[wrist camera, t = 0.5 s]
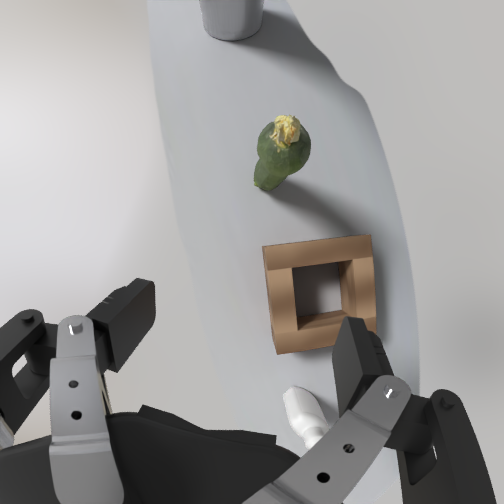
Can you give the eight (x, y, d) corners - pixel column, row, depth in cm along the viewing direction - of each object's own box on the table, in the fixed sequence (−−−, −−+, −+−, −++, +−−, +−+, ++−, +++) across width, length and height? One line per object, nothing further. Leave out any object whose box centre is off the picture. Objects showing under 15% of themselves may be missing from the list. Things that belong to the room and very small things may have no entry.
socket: (262, 246, 36) (265, 246, 30) (353, 235, 36) (370, 234, 30) (272, 339, 36) (277, 354, 31) (359, 324, 36) (376, 336, 31)
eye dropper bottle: (309, 378, 36) (333, 426, 24) (319, 408, 37) (342, 458, 25) (279, 389, 36) (292, 441, 24) (291, 418, 37) (305, 471, 25)
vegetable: (265, 158, 35) (286, 71, 15) (293, 176, 36) (345, 107, 16) (245, 185, 35) (247, 119, 15) (275, 204, 36) (311, 159, 16)
